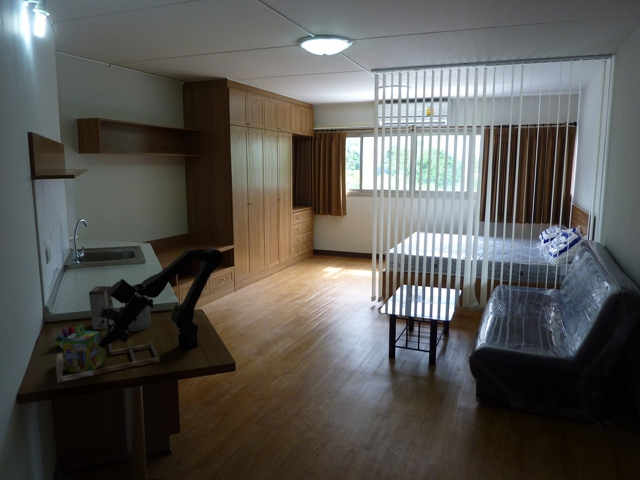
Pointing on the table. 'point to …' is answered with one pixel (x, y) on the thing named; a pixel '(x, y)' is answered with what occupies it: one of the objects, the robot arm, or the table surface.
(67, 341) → the chalk box
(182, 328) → the robot arm
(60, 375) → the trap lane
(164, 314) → the table surface
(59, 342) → the rainbow disc cluster
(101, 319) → the coffee box
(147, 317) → the pillar candle
